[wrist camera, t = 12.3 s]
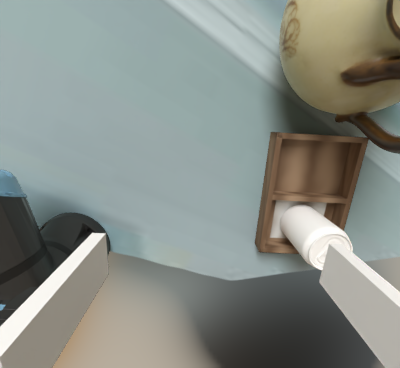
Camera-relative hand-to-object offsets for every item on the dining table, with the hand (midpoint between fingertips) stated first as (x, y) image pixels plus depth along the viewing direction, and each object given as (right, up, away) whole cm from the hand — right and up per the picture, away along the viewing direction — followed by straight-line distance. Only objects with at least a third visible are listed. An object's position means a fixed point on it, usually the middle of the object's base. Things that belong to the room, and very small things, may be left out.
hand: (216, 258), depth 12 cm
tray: (+21, +2, +32) cm, 39 cm away
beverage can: (+21, -4, +34) cm, 39 cm away
